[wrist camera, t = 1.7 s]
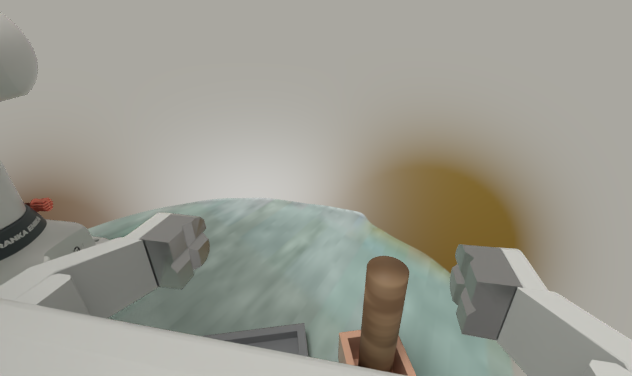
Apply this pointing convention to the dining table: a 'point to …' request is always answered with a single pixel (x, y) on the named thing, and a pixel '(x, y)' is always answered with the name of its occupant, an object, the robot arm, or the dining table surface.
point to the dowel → (382, 312)
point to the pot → (351, 346)
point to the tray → (271, 338)
